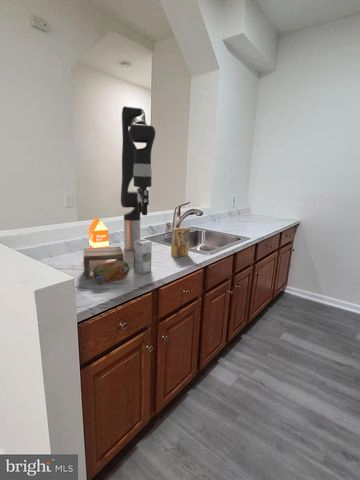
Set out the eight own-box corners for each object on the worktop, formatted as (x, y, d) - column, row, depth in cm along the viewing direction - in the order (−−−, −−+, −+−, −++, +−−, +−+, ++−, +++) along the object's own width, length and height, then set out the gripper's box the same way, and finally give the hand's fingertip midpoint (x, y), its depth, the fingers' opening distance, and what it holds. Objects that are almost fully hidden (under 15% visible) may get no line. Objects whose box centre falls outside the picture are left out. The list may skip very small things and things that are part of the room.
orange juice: (94, 259, 140) (92, 220, 135) (89, 254, 147) (87, 217, 142) (109, 256, 144) (108, 219, 139) (103, 252, 151) (102, 216, 147)
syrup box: (142, 268, 130) (142, 238, 126) (151, 271, 126) (151, 240, 122) (133, 271, 125) (133, 240, 122) (142, 274, 122) (142, 243, 118)
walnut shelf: (85, 269, 125) (83, 248, 123) (120, 266, 130) (120, 246, 128) (84, 279, 114) (83, 256, 112) (123, 276, 119) (123, 254, 117)
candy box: (184, 253, 154) (185, 226, 151) (188, 255, 151) (189, 228, 147) (170, 255, 150) (171, 228, 146) (174, 257, 146) (175, 229, 143)
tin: (94, 285, 109) (93, 265, 107) (92, 283, 111) (91, 263, 109) (129, 278, 117) (129, 259, 115) (126, 275, 120) (126, 257, 118)
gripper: (131, 174, 121) (131, 211, 125) (136, 175, 108) (136, 216, 111) (148, 175, 123) (148, 211, 127) (154, 175, 110) (154, 215, 114)
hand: (142, 213), depth 119 cm, fingers open, 8 cm apart
